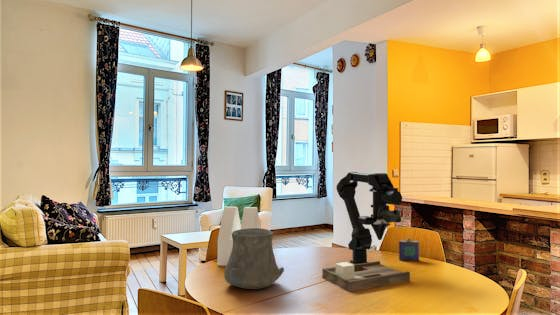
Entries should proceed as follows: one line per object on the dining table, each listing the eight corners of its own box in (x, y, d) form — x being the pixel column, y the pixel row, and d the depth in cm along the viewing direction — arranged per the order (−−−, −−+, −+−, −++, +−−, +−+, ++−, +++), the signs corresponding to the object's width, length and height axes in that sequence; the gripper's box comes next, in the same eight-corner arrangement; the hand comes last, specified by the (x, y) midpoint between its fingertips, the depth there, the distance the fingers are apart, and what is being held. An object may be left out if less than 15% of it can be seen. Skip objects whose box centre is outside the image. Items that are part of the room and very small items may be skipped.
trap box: (322, 277, 145) (322, 268, 145) (378, 269, 157) (378, 261, 157) (349, 291, 129) (349, 281, 129) (409, 281, 141) (409, 272, 141)
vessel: (277, 298, 122) (277, 238, 123) (214, 293, 127) (215, 235, 127) (289, 278, 144) (289, 227, 144) (235, 275, 148) (235, 225, 149)
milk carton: (231, 255, 182) (231, 204, 182) (261, 256, 179) (261, 205, 180) (217, 265, 163) (217, 209, 163) (251, 267, 160) (251, 209, 161)
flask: (418, 259, 173) (418, 237, 174) (420, 261, 170) (420, 238, 171) (398, 259, 174) (398, 236, 174) (400, 261, 171) (399, 238, 171)
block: (335, 275, 140) (335, 263, 140) (346, 273, 142) (346, 262, 142) (343, 279, 135) (343, 266, 135) (354, 277, 137) (354, 265, 138)
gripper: (374, 205, 144) (374, 245, 144) (410, 203, 152) (410, 241, 152) (357, 203, 154) (357, 240, 154) (391, 201, 162) (391, 236, 162)
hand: (379, 239), depth 155 cm, fingers closed
